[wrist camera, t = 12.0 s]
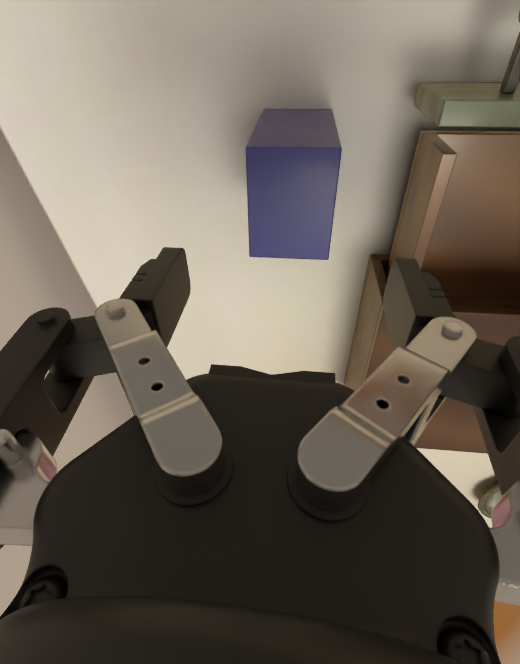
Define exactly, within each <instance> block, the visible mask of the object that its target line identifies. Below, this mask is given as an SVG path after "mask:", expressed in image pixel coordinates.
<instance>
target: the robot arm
mask: <svg viewBox="0 0 520 664" xmlns="http://www.w3.org/2000/svg"><path fill="white" fill-rule="evenodd" d="M189 295H190V278H189V272H188V266H187V260H186V254H185V250H184V249H183V248H169V247H164V248H163V249H162V251H161V252H160V254H159V255H158V257H157V259H150V260H149V261H148V262H146V263H145V264H143V265H142V266H141V267H140V268H139V270H138V271H137V273H136V275H135V276H134V277H133V279H132V281H131V282H130V283H129V285H128V286H127V288H126V289H125V291H124V292H123V294H122V295H121V297H120V298H119V299H114V300H110V301H108V302H106V303H104V304H102V305H101V306H99V307H98V308H97V310H96V311H95V315H94V316H89V317H82V318H76V319H71V317H70V315H69V312H68V311H67V310H65V309H63V308H48V309H44V310H41V311H38V312H37V313H34V314H33V315H31V316H30V317H29V318H28V319H27V320H26V321H25V322H24V323H23V325H22V326H21V327H20V328H19V329H18V331H17V332H16V333H15V334H14V335H13V337H12V338H11V339H10V340H9V341H8V343H7V344H6V345H5V346H4V347H3V349H2V350H1V351H0V549H1V548H2V547H3V546H4V545H23V546H32V552H31V557H30V562H29V566H28V569H27V573H26V576H25V579H24V581H23V584H22V586H21V588H20V590H19V591H18V593H17V595H16V597H15V598H14V599H13V601H12V602H11V604H10V605H9V606H8V608H7V609H6V610H5V612H4V613H3V614H2V615H1V616H0V664H501V662H500V660H499V657H498V653H497V649H496V644H495V638H494V624H493V610H494V601H496V602H502V603H508V604H513V605H518V606H520V336H514V337H512V338H510V339H509V340H508V341H507V343H506V344H505V346H503V345H499V344H495V343H491V342H487V341H484V340H481V339H478V338H476V332H475V330H474V329H473V328H472V327H471V326H470V325H469V324H467V323H466V322H464V321H462V320H459V319H457V318H456V317H455V315H454V313H453V311H452V309H451V307H450V304H449V302H448V300H447V298H445V294H444V292H443V291H442V287H441V285H440V283H439V281H438V280H437V279H436V278H435V277H434V276H433V275H431V274H430V273H429V272H421V269H420V267H419V265H418V262H417V260H416V259H415V258H394V259H393V261H392V264H391V268H390V272H389V276H388V280H387V284H386V288H385V292H384V298H383V307H384V312H385V316H386V320H387V325H388V329H389V333H390V337H391V341H392V345H393V350H394V351H393V352H392V353H391V354H390V355H389V356H388V357H387V358H386V359H385V360H384V361H383V362H382V363H381V364H380V365H379V366H378V367H377V368H376V369H375V370H374V372H373V373H372V374H371V375H370V376H369V377H368V378H367V379H366V380H365V381H364V382H363V383H362V384H361V385H360V386H359V387H358V388H357V389H356V390H353V389H351V388H349V387H347V386H344V385H342V384H339V383H335V373H325V372H311V371H300V372H292V373H284V374H276V375H270V374H266V373H262V372H259V371H255V370H252V369H248V368H244V367H240V366H226V365H212V364H211V367H210V371H209V373H208V374H203V375H198V376H195V377H192V378H190V379H187V380H186V379H185V378H184V376H183V374H182V373H181V371H180V369H179V368H178V366H177V364H176V363H175V361H174V359H173V358H172V356H171V354H170V353H169V351H168V349H167V346H168V344H169V342H170V339H171V337H172V335H173V333H174V330H175V328H176V326H177V323H178V321H179V319H180V316H181V314H182V312H183V309H184V307H185V305H186V303H187V300H188V298H189ZM48 370H49V371H50V372H49V373H48V375H47V376H46V378H45V375H46V373H47V371H48ZM114 372H116V373H117V375H118V377H119V380H120V382H121V384H122V387H123V389H124V392H125V394H126V397H127V399H128V401H129V404H130V406H131V409H132V411H133V414H134V416H133V417H132V418H131V419H129V420H128V421H126V422H125V423H124V424H122V425H121V426H120V427H118V428H117V429H115V430H114V431H113V432H111V433H110V434H108V435H107V436H105V437H104V438H103V439H102V440H100V441H99V442H97V443H96V444H94V445H93V446H92V447H90V448H89V449H87V450H86V451H85V452H83V453H82V454H80V455H79V456H78V457H76V458H75V459H73V460H72V461H71V462H69V463H68V464H67V465H66V466H64V467H63V468H62V469H61V470H60V471H59V472H58V473H57V474H56V472H57V464H56V461H55V459H54V458H53V455H54V453H55V451H56V449H57V447H58V445H59V443H60V441H61V439H62V438H63V436H64V434H65V432H66V430H67V428H68V426H69V424H70V422H71V420H72V418H73V416H74V414H75V413H76V411H77V409H78V407H79V405H80V403H81V401H82V399H83V397H84V395H85V393H86V391H87V389H88V387H89V385H90V383H91V381H92V379H93V378H94V376H97V375H103V374H108V373H114ZM44 378H45V380H44ZM446 397H447V398H450V399H453V400H457V401H460V402H463V403H466V404H469V405H472V406H473V409H474V412H475V415H476V418H477V421H478V424H479V427H480V430H481V433H482V436H483V439H484V443H485V446H486V449H487V452H488V455H489V458H490V461H491V464H492V467H493V470H494V473H495V476H496V479H497V482H498V485H499V488H500V491H501V494H502V497H501V498H500V499H499V501H498V502H497V503H496V504H495V505H494V507H493V508H492V512H491V518H492V525H493V527H492V528H489V527H488V525H487V523H486V522H485V520H484V518H483V517H482V516H481V514H480V513H479V512H478V510H477V509H476V508H475V507H474V506H473V505H472V504H471V503H470V501H469V500H468V499H467V498H466V497H465V496H464V495H463V494H462V493H461V492H460V491H459V490H458V489H457V488H456V487H455V486H454V485H453V484H452V483H451V482H450V481H449V480H447V479H446V478H445V477H444V476H443V475H442V474H441V473H440V472H439V471H438V470H437V469H436V468H435V467H434V466H433V465H432V464H431V463H430V462H429V461H428V460H427V459H426V458H425V457H424V456H423V455H422V454H421V453H420V452H419V451H418V450H417V449H416V448H415V447H414V445H415V443H416V442H417V440H418V438H419V437H420V435H421V433H422V432H423V430H424V429H425V427H426V426H427V425H428V423H429V422H430V420H431V419H432V418H433V416H434V415H435V413H436V412H437V411H438V409H439V408H440V406H441V405H442V403H443V402H444V401H445V399H446Z"/></svg>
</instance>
